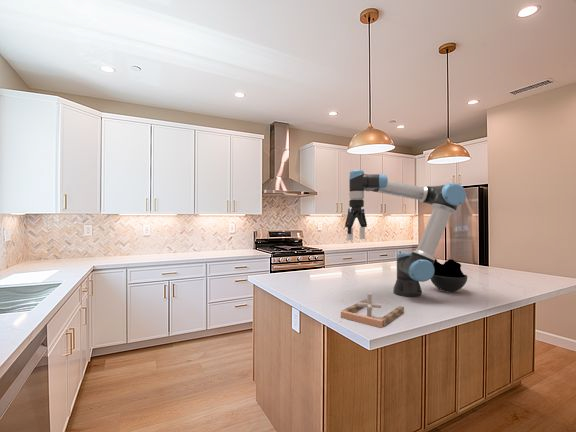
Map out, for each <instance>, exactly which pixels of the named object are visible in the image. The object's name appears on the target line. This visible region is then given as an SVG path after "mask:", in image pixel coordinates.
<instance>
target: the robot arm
mask: <svg viewBox="0 0 576 432" xmlns="http://www.w3.org/2000/svg"><path fill="white" fill-rule="evenodd" d="M388 179H389V178H388V176H387V174H382V173H378V174H377V173H376V174H373V173H372V174H371V173H370V174H368V173H367V174H365V171H364V170H363V169H354V170H350V172H349V181H348V182H349V187H348V188H349V189H348V190H349V193H348V195H349V197H348V199H349V201H348V202H349V203H348V204H349V205H348V206H349V208H348V209H347V210H348V211H347V216H346V220H345V224H344V227H345V228H347V235H346V236H347V237H346V238H347V241H352V242H353V241H354V227H353V226H354V224H355V221H356V219H357V221H358V223H359V240H365V239H366V232H365V231H366V228H367V227H368V224H367V218H366V215H365V214H366V213H365V208H363V207H364V206H365V200H364V198H365V192H374V193H380V194H385V195H390V196H397V197H402V198H406V199H412V200H417V201H419V203H423V204H428V205H431V206H432V207H433V209H432V212H431V215H430V217H429V219H428V221H427V224H426V226H425V229H424V231H423V233H422V235H421V237H420V241H419V243H418V246H417V248H416V249H415V250H413V251H411V253H398V254H397V255H396V259H395V260H396V280H395V284H394V286H393V293H394V294H396V295H398V296H401V297H402V296H403V297H409V298H411V297H412V298H414V297H415V298H417V297H421V296H422V295H423V289H422V287H421V284H420V283H425V282H428V281H429V280H431V278H432V276H433V275H434V266H433V264H434V262H435V259H436V258H434V255H435V252H436V250H437V248H438V246H439V243H440V242H441V239H442V236H443V234H444V232H445V229H446V226H447V225H448V222H449V220H450V217H451V215H452V214H455V213H456V211H457V209H458V207H459V206H461V204H464V202H465V200H466V197H467V194H466V190H465V188H464V187H463V186H462V185H461V184H459V183H456V182H448V183H446V184H442V185H440V184H439V185H434V186H430V185H429V186H428V185H423V186H418V185H413V184H407V183H403V182H402V183H401V182H397V181H390V180H388Z"/></svg>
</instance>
